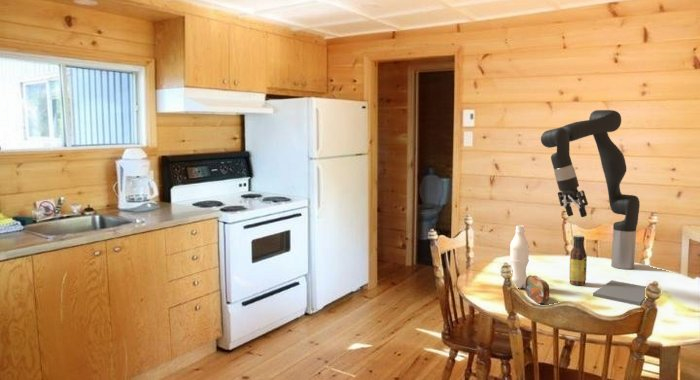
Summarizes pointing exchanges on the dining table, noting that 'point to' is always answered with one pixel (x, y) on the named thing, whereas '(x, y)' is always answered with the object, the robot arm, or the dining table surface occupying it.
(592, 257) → the dining table surface
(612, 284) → the charcoal board
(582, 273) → the sauce bottle
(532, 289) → the tin
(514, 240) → the water bottle
